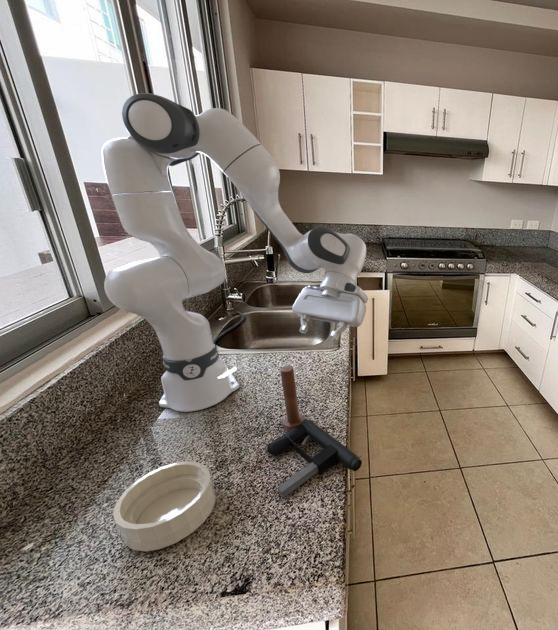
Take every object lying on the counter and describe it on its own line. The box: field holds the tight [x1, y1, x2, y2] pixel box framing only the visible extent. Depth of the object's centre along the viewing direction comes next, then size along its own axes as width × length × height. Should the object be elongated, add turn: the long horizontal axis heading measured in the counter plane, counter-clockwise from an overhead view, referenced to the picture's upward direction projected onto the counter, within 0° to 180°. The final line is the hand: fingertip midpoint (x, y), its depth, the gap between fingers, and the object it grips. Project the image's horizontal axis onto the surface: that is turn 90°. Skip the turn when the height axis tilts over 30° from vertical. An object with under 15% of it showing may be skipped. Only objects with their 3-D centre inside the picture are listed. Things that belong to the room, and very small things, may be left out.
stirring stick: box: [279, 365, 306, 432], centre depth 82 cm, size 5×5×16 cm
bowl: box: [112, 460, 217, 552], centre depth 60 cm, size 14×14×6 cm
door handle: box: [266, 419, 363, 499], centre depth 73 cm, size 3×20×16 cm
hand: (318, 335), depth 88 cm, fingers open, 8 cm apart
